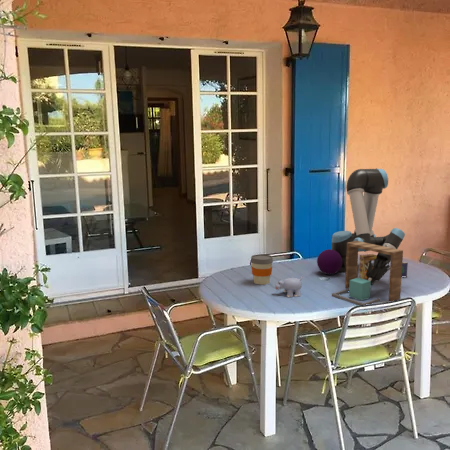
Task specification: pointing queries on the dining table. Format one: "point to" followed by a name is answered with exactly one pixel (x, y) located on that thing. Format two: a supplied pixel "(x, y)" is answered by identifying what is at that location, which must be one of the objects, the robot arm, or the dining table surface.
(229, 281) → the dining table surface
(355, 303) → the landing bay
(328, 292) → the dining table surface
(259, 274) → the reusable coffee cup
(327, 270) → the toy ball
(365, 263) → the candy box
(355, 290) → the teal block
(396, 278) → the tunnel
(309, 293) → the dining table surface
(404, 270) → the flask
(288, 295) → the hippopotamus toy
